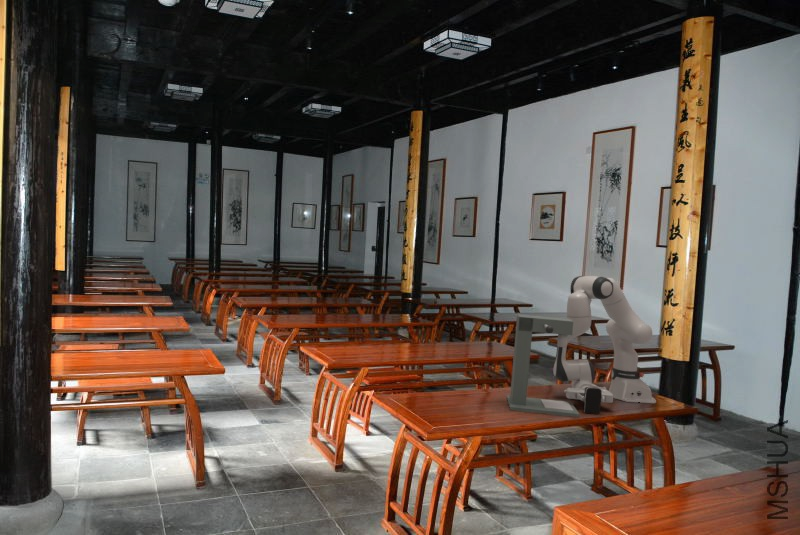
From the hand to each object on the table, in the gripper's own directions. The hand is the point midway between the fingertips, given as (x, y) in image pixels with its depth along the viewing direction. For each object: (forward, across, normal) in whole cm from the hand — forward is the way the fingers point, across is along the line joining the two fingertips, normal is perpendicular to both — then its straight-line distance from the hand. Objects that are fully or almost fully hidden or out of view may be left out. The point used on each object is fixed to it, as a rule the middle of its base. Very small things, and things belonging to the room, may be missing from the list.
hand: (592, 399), depth 258 cm
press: (+3, -22, +6) cm, 23 cm away
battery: (-1, 0, +6) cm, 6 cm away
